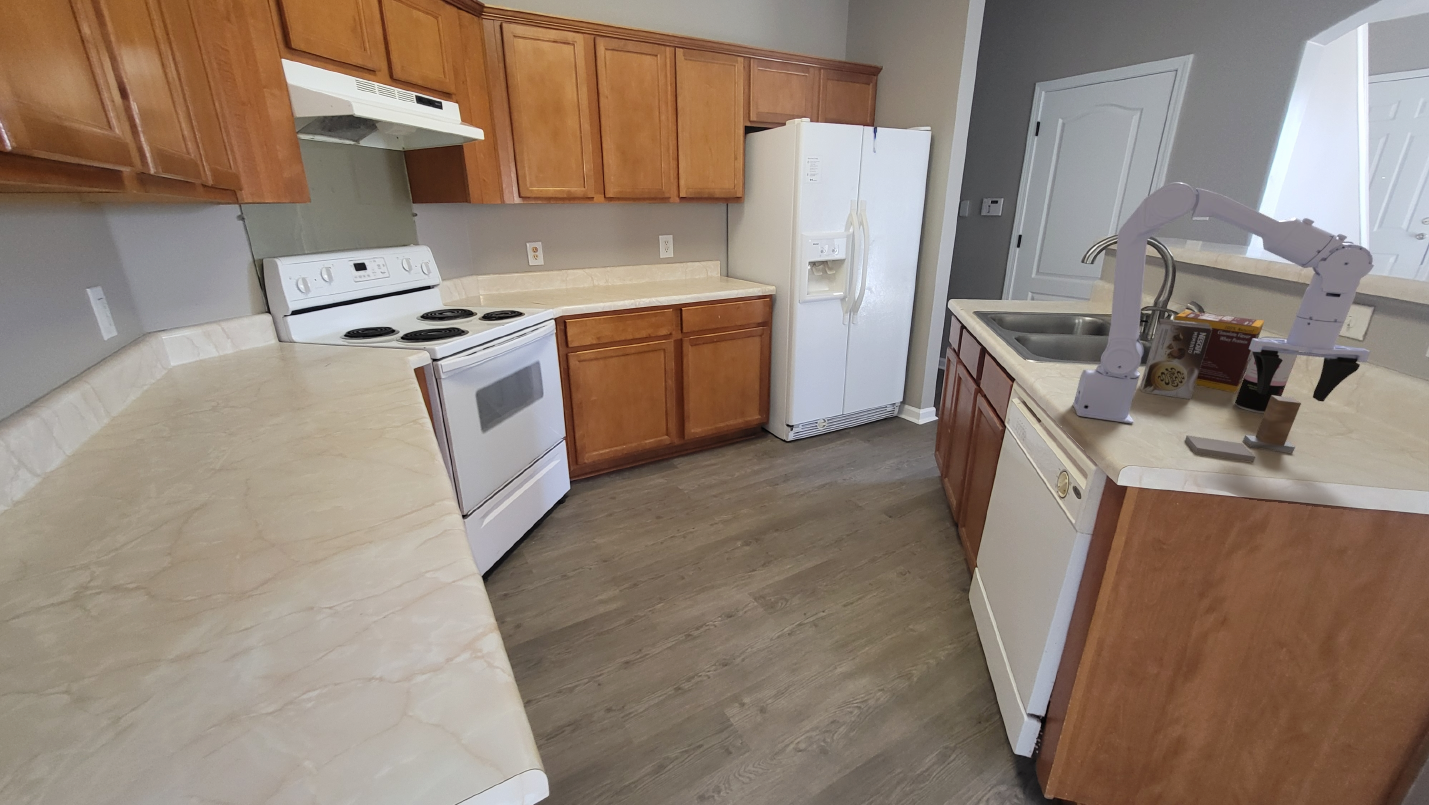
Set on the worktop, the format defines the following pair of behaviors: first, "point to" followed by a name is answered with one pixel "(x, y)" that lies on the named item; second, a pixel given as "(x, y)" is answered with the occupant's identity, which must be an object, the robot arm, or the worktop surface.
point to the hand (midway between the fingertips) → (1289, 396)
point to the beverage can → (1259, 402)
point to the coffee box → (1175, 358)
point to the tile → (1219, 448)
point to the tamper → (1275, 425)
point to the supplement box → (1225, 349)
